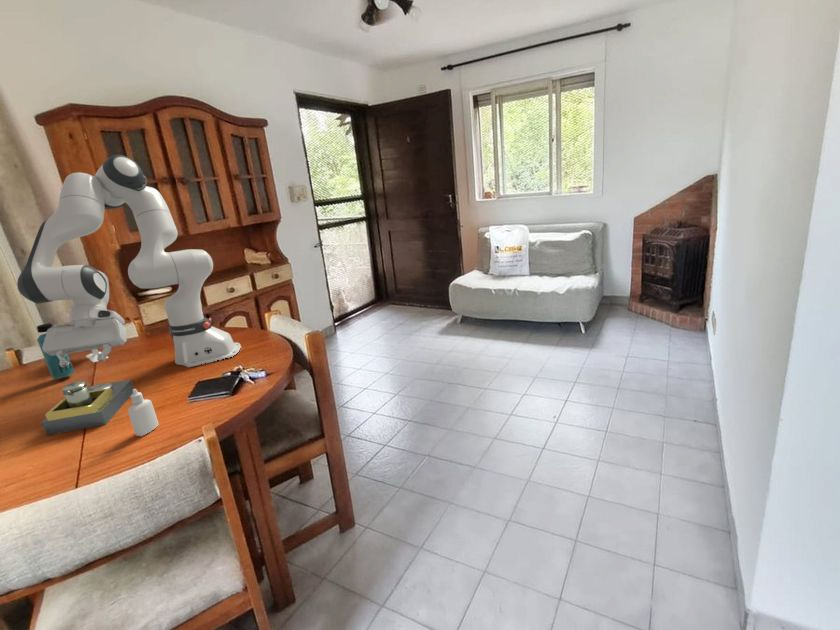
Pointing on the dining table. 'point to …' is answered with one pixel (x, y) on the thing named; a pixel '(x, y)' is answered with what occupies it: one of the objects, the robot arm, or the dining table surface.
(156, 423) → the eye dropper bottle
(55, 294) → the robot arm
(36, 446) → the dining table surface
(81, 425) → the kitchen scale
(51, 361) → the beverage bottle
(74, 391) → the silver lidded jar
